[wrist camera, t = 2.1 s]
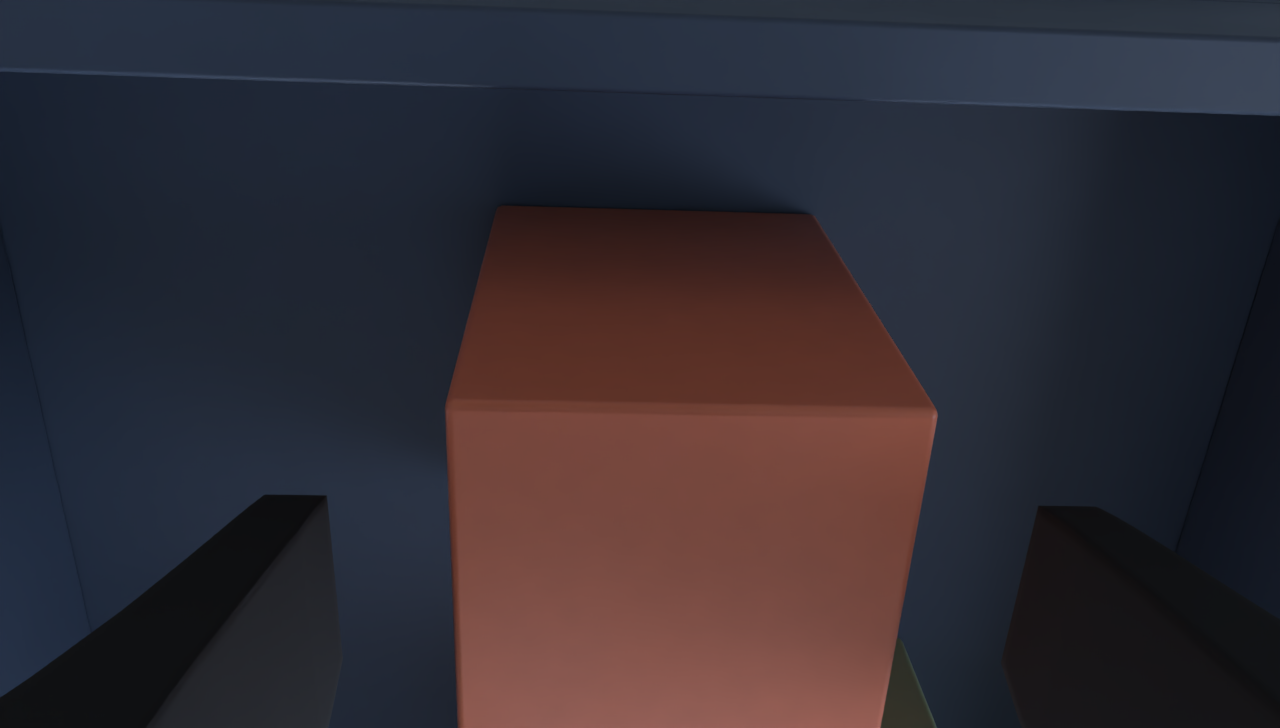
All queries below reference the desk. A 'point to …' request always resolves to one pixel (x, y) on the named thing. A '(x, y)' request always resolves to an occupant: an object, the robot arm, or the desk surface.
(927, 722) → the sage block
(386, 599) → the tote
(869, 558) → the coral block
